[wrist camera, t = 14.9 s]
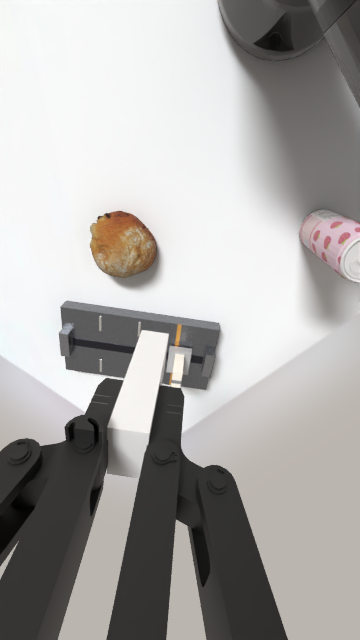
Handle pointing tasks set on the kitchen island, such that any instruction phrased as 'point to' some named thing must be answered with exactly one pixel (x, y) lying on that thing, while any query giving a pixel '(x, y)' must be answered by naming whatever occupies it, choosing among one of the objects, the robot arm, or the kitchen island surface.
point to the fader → (178, 364)
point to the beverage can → (334, 241)
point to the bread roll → (122, 244)
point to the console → (132, 340)
